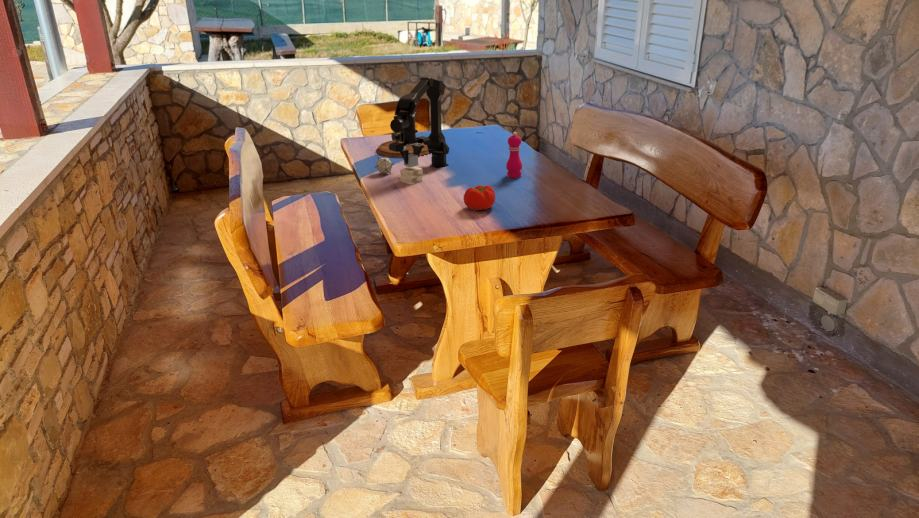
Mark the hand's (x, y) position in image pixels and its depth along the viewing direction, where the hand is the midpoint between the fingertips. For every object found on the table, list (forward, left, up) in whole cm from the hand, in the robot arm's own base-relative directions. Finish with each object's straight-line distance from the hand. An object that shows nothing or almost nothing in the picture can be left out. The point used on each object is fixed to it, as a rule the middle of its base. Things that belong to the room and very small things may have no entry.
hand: (410, 163), depth 277 cm
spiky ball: (+2, -18, -8) cm, 20 cm away
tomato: (+2, +47, -9) cm, 48 cm away
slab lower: (0, 0, -9) cm, 9 cm away
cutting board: (-31, -45, -9) cm, 55 cm away
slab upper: (0, 0, -6) cm, 6 cm away
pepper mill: (-37, +27, -8) cm, 47 cm away
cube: (0, 0, -1) cm, 1 cm away
